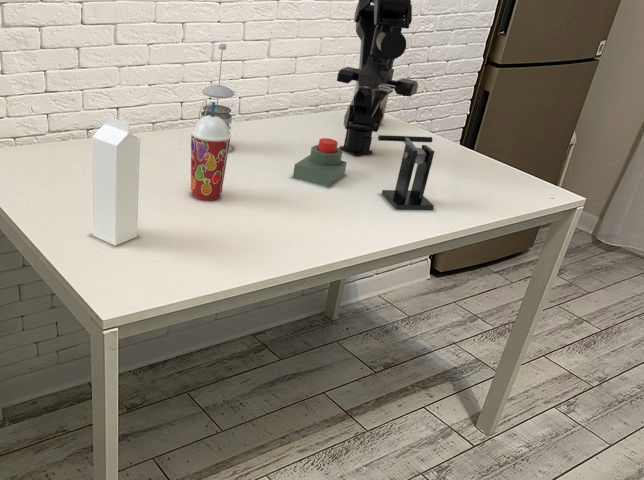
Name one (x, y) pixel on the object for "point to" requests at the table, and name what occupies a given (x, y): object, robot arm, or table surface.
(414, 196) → the black stand
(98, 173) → the milk
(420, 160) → the lever
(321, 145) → the button
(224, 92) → the french press
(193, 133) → the smoothie
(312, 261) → the table surface
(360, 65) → the robot arm
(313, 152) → the control block
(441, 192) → the table surface
